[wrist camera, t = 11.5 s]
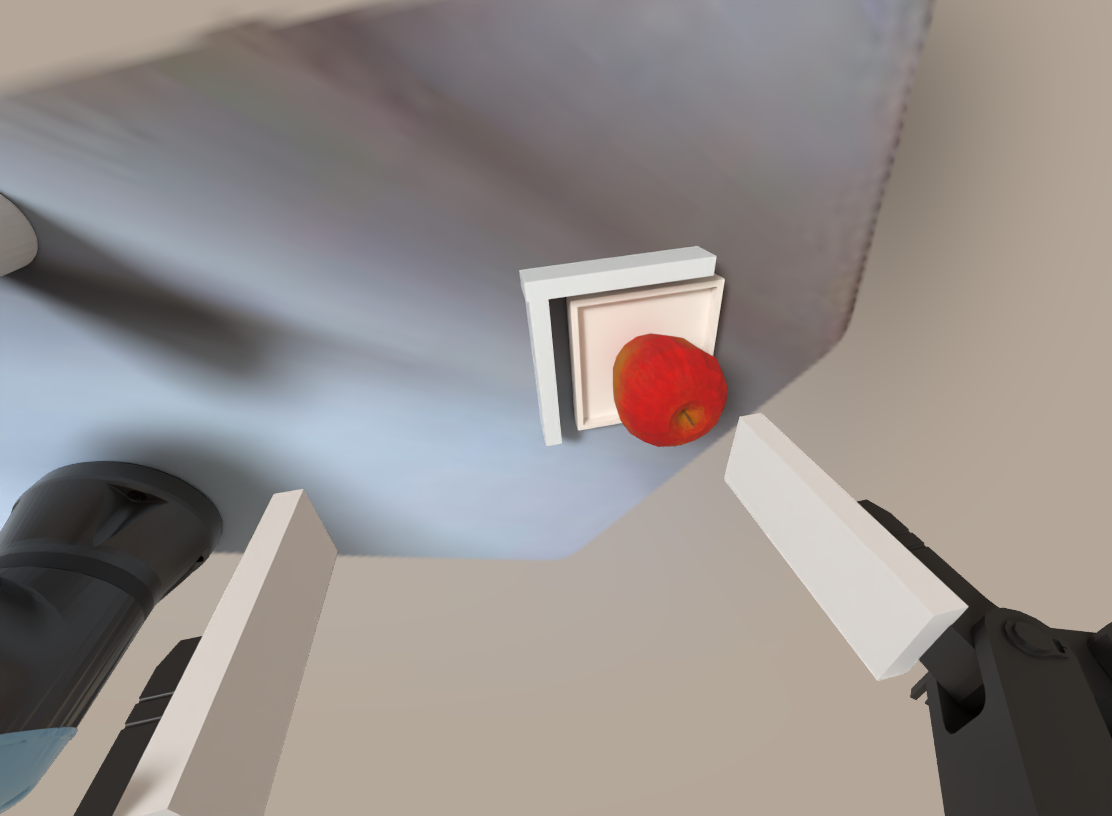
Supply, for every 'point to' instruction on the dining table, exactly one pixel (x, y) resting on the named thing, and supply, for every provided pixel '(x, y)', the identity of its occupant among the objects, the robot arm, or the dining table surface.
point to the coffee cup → (15, 238)
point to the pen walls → (584, 281)
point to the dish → (632, 334)
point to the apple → (667, 389)
